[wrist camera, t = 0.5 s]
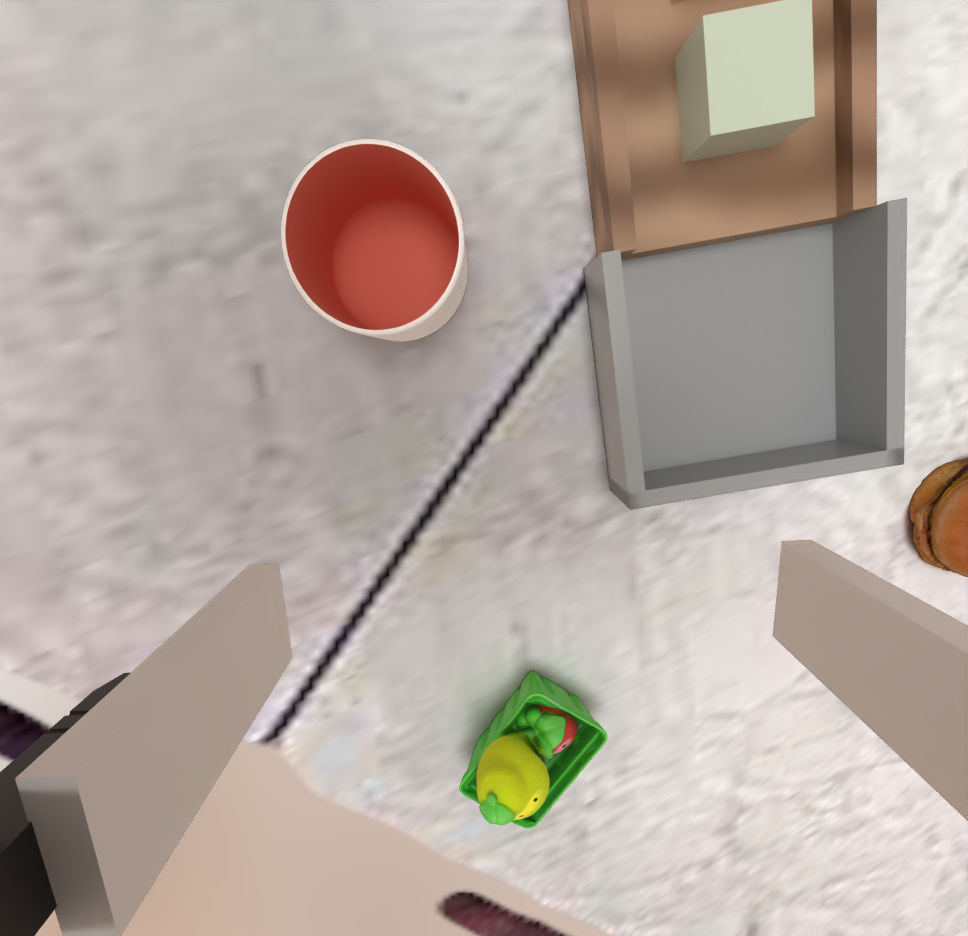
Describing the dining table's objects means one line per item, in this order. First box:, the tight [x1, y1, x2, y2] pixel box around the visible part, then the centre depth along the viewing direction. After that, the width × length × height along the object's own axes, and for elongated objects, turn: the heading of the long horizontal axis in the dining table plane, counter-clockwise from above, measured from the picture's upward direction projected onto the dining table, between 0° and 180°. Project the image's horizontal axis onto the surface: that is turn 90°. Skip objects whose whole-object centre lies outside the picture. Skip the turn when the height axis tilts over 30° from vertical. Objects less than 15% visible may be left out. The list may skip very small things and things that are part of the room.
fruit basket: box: [459, 671, 607, 828], centre depth 39 cm, size 11×9×11 cm
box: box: [583, 198, 907, 510], centre depth 35 cm, size 17×19×6 cm
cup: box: [281, 139, 468, 341], centre depth 32 cm, size 10×10×10 cm
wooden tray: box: [568, 0, 877, 261], centre depth 32 cm, size 22×17×4 cm
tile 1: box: [675, 0, 815, 163], centre depth 30 cm, size 6×6×4 cm
